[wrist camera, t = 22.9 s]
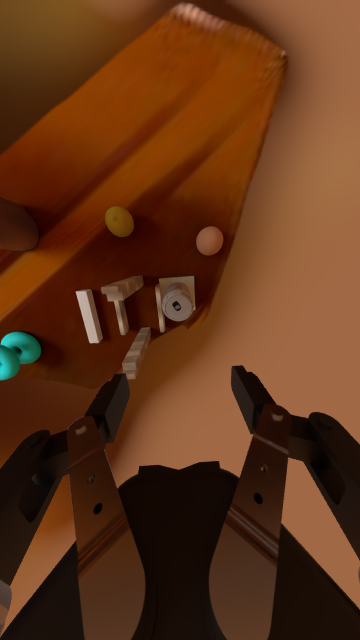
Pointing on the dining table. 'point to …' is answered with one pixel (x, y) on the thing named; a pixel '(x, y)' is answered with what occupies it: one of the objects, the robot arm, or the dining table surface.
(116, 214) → the lemon
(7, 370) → the donuts
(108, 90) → the dining table surface
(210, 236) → the egg
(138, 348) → the cradle
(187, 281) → the coaster
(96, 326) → the bar
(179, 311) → the energy drink can
